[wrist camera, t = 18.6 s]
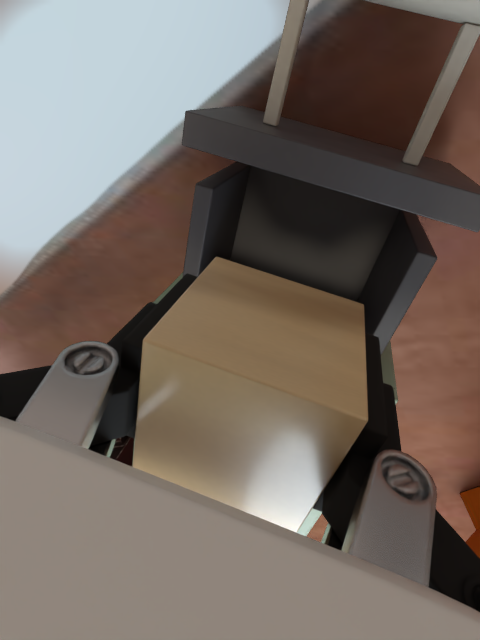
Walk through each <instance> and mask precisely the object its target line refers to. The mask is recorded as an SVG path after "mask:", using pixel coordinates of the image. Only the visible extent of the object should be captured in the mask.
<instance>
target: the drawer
mask: <svg viewBox="0 0 480 640" xmlns="http://www.w3.org/2000/svg"><path fill="white" fill-rule="evenodd" d="M364 1H368V2H372V3H376V4H381V5H385V6H389V7H393V8H398V9H402V10H406V11H410V12H415V13H419V14H423V15H427V16H431V17H436V18H440V19H444V20H448V21H453V22H457V23H461V24H464V25H462V26H461V28H460V30H459V32H458V35H457V37H456V39H455V41H454V44H453V46H452V48H451V50H450V53H449V55H448V57H447V59H446V62H445V64H444V66H443V68H442V71H441V73H440V75H439V78H438V80H437V82H436V84H435V87H434V89H433V91H432V93H431V96H430V98H429V100H428V102H427V105H426V107H425V109H424V111H423V114H422V116H421V118H420V120H419V123H418V125H417V127H416V129H415V132H414V134H413V136H412V139H411V141H410V143H409V145H408V148H407V150H406V151H403V150H399V149H396V148H392V147H388V146H385V145H381V144H378V143H374V142H370V141H367V140H363V139H360V138H356V137H352V136H349V135H345V134H342V133H338V132H334V131H331V130H327V129H324V128H320V127H316V126H313V125H309V124H306V123H302V122H298V121H295V120H291V119H288V118H284V117H280V116H281V112H282V108H283V104H284V100H285V96H286V92H287V88H288V84H289V80H290V76H291V72H292V68H293V63H294V59H295V55H296V51H297V47H298V43H299V39H300V35H301V31H302V27H303V23H304V19H305V15H306V11H307V7H308V2H309V0H290V3H289V7H288V12H287V16H286V21H285V25H284V30H283V34H282V39H281V43H280V48H279V52H278V57H277V61H276V66H275V70H274V75H273V79H272V84H271V88H270V92H269V97H268V101H267V106H266V110H265V112H262V111H259V110H255V109H252V108H248V107H244V106H234V107H223V108H211V109H200V110H190V111H186V112H185V121H184V130H183V139H182V145H183V146H187V147H190V148H194V149H197V150H200V151H204V152H207V153H210V154H214V155H217V156H221V157H224V158H227V159H231V160H234V161H237V162H235V163H233V164H231V165H230V166H228V167H226V168H224V169H222V170H221V171H219V172H217V173H215V174H213V175H211V176H210V177H208V178H206V179H204V180H202V181H200V182H199V183H197V184H196V186H195V193H194V200H193V207H192V214H191V221H190V228H189V236H188V243H187V250H186V257H185V264H184V271H183V277H184V275H185V274H187V273H188V274H191V275H194V276H197V277H198V276H199V275H200V274H201V273H202V272H203V271H204V270H205V268H206V267H207V266H208V265H209V264H210V263H211V262H212V260H213V259H214V258H215V257H220V258H223V259H226V260H229V261H232V262H235V263H238V264H241V265H245V266H248V267H251V268H254V269H257V270H260V271H263V272H266V273H269V274H272V275H275V276H278V277H281V278H284V279H287V280H291V281H294V282H297V283H300V284H303V285H306V286H309V287H312V288H315V289H318V290H321V291H324V292H327V293H330V294H334V295H337V296H340V297H343V298H346V299H349V300H352V301H355V302H358V303H361V304H363V305H364V317H365V333H368V334H371V335H374V336H377V337H379V343H380V353H381V355H382V353H383V351H384V350H385V348H386V346H387V344H388V343H389V341H390V339H391V338H392V336H393V334H394V332H395V331H396V329H397V327H398V325H399V324H400V322H401V320H402V319H403V317H404V315H405V313H406V312H407V310H408V308H409V306H410V305H411V303H412V301H413V300H414V298H415V296H416V294H417V293H418V291H419V289H420V287H421V286H422V284H423V282H424V281H425V279H426V277H427V275H428V274H429V272H430V270H431V268H432V267H433V265H434V263H435V262H436V260H437V256H436V254H435V252H434V250H433V248H432V246H431V243H430V241H429V239H428V237H427V235H426V233H425V231H424V229H423V227H422V225H421V223H420V221H419V219H418V217H417V215H420V216H424V217H427V218H430V219H434V220H437V221H441V222H444V223H447V224H451V225H454V226H458V227H461V228H464V229H468V230H471V231H474V232H478V231H479V230H480V186H479V185H478V184H477V183H475V182H474V181H473V180H471V179H470V178H469V177H467V176H466V175H464V174H463V173H462V172H460V171H459V170H458V169H456V168H455V167H454V166H452V165H451V164H450V163H446V162H442V161H439V160H435V159H432V158H428V157H424V156H423V154H424V151H425V149H426V147H427V145H428V143H429V141H430V139H431V137H432V134H433V132H434V130H435V128H436V126H437V124H438V122H439V120H440V117H441V115H442V113H443V111H444V109H445V107H446V105H447V103H448V100H449V98H450V96H451V94H452V92H453V90H454V88H455V86H456V83H457V81H458V79H459V77H460V75H461V73H462V71H463V68H464V66H465V64H466V62H467V60H468V58H469V56H470V54H471V51H472V49H473V47H474V45H475V43H476V41H477V39H478V37H479V34H480V0H364ZM416 214H417V215H416Z"/></svg>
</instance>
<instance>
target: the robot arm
mask: <svg viewBox="0 0 480 640" xmlns="http://www.w3.org/2000/svg"><path fill="white" fill-rule="evenodd" d="M197 278H198V277H197V276H194V275H191V274H188V273H187V274H185V275H184V277H183V278H182V279H181V280H180V281H179V282H178V283H177V284H176V285H175V286H174V287H173V288H172V289H171V290H170V291H169V292H168V293H167V294H166V295H165V296H164V297H163V298H162V299H161V300H160V301H159V303H158V304H155V303H152V302H150V303H148V304H147V305H146V306H145V307H144V308H143V309H142V310H141V311H140V312H139V313H138V314H137V315H136V316H135V317H134V318H133V319H132V320H131V321H130V322H129V323H128V324H127V325H126V326H125V327H123V328H122V329H121V330H120V331H119V332H118V333H117V334H116V335H115V336H114V337H113V338H112V339H111V340H110V341H109V342H108V343H107V344H105V343H102V342H97V341H85V342H79V343H76V344H73V345H71V346H69V347H67V348H65V349H64V350H63V351H62V352H61V353H60V355H59V356H58V358H57V359H56V361H55V362H54V364H53V365H51V366H46V367H40V368H34V369H28V370H23V371H17V372H11V373H5V374H0V640H480V558H479V557H478V556H477V555H476V554H475V553H474V552H473V550H472V549H471V548H470V547H469V546H468V545H467V544H466V543H465V542H464V540H463V539H462V538H461V537H460V536H459V535H458V534H457V533H456V531H455V530H454V529H453V528H452V527H451V526H450V525H449V524H448V523H447V521H446V520H445V519H444V518H443V517H442V516H441V515H440V514H439V513H438V511H437V510H436V498H437V492H436V486H435V483H434V481H433V478H432V477H431V475H430V474H429V472H428V471H427V470H426V468H425V467H424V466H423V465H422V464H421V463H419V462H418V461H417V460H416V459H414V458H413V457H411V456H410V455H408V454H406V453H403V452H401V444H400V436H399V428H398V421H397V413H396V405H395V397H394V390H393V387H392V386H391V385H389V384H386V383H383V375H382V364H381V353H380V343H379V337H377V336H374V335H371V334H368V333H365V345H366V372H367V400H368V422H367V423H366V425H365V426H364V428H363V430H362V431H361V433H360V434H359V436H358V437H357V439H356V441H355V442H354V444H353V445H352V447H351V448H350V450H349V451H348V453H347V455H346V456H345V458H344V459H343V461H342V462H341V464H340V466H339V467H338V469H337V470H336V472H335V473H334V475H333V477H332V478H331V480H330V481H329V483H328V484H327V486H326V488H325V489H324V491H323V492H322V494H321V495H320V497H319V499H318V500H317V502H316V503H315V505H314V506H313V509H316V510H318V511H321V512H322V514H323V515H324V517H325V518H326V520H327V521H328V525H327V527H326V530H325V533H324V536H323V539H322V541H321V542H318V541H316V540H313V539H311V538H308V537H306V536H303V535H301V534H299V533H296V532H294V531H291V530H289V529H286V528H284V527H281V526H279V525H276V524H274V523H272V522H269V521H267V520H264V519H262V518H259V517H257V516H254V515H252V514H249V513H247V512H244V511H242V510H239V509H237V508H234V507H232V506H229V505H227V504H224V503H222V502H219V501H217V500H214V499H212V498H209V497H207V496H204V495H202V494H199V493H197V492H194V491H192V490H189V489H187V488H184V487H182V486H179V485H177V484H174V483H172V482H169V481H167V480H164V479H162V478H159V477H157V476H154V475H152V474H149V473H147V472H144V471H142V470H139V469H137V468H134V467H132V466H129V465H126V464H124V463H121V462H119V461H116V460H114V459H111V458H110V456H111V453H112V450H113V447H114V445H115V441H116V439H117V438H121V437H124V436H126V435H127V436H129V437H132V438H134V439H135V431H136V419H137V406H138V394H139V382H140V369H141V357H142V345H143V339H144V338H145V337H146V335H147V334H148V333H149V332H150V331H151V330H152V329H153V327H154V326H155V325H156V324H157V323H158V322H159V321H160V320H161V318H162V317H163V316H164V315H165V314H166V313H167V312H168V310H169V309H170V308H171V307H172V306H173V305H174V304H175V302H176V301H177V300H178V299H179V298H180V297H181V296H182V295H183V293H184V292H185V291H186V290H187V289H188V288H189V287H190V285H191V284H192V283H193V282H194V281H195V280H196V279H197Z"/></svg>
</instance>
